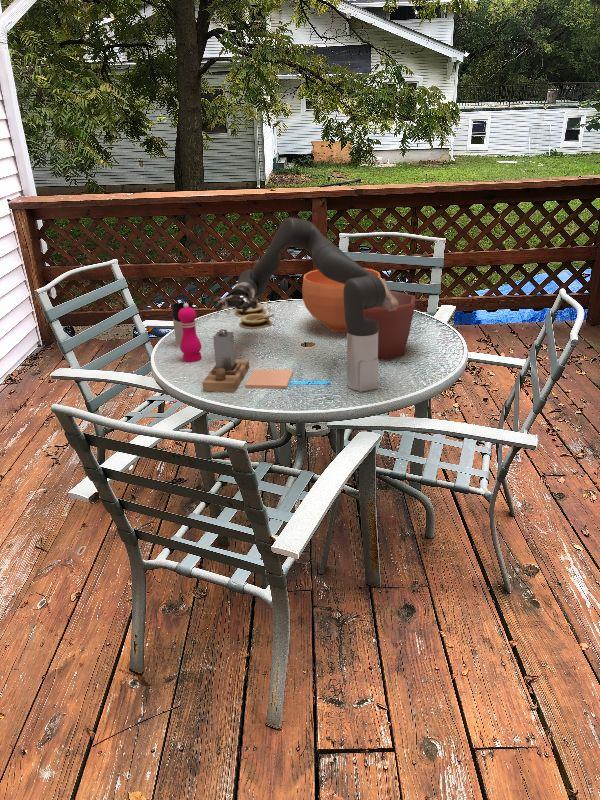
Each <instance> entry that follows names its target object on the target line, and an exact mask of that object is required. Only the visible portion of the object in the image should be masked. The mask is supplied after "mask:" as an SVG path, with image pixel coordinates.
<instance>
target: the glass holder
mask: <svg viewBox="0 0 600 800" xmlns="http://www.w3.org/2000/svg"><path fill="white" fill-rule="evenodd" d="M184 303H187V304H188V305H189V307H190V308H193V309H194V304H193V303H192V302H189V301H187V302H186V301H185V302H182V301H181V302H177V303H174V304H172V305H171V311H172V321H173V331H174V338H175V344H174V346H175V345H176V346H177V347H176V346H175V347H176V348H178V347H180V344H181V340H182V337H183V328H182V327H181V320H180V319H179V317H178V313H179V311H180V309H182V308H184V306H183V305H184ZM194 321H195V322H196V319H195V320H194ZM195 332H196V333H197V328H196V325H195Z"/></svg>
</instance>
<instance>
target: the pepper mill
mask: <svg viewBox="0 0 600 800" xmlns="http://www.w3.org/2000/svg"><path fill="white" fill-rule="evenodd" d="M183 306H184V308H182V309H180V311H179V313H178V317H179V319H180V320H181V327H182V328H183V337H182V340H181V344H180V348H179V349H180V351H181V353H183V354H182V359H183V361H184V362H187V363H195V362H197V361H200V360H201V359H202V353H201V352H200V351H201V350H202V342H201V341H200V339H199V337H198V335H197V331H196V332H195V326H196V324H197V323H196V318H197V313H196V310H195V309H194V307H193V308H190V307H189V305H188V304H187V303H184V305H183ZM194 320H195V321H194ZM194 361H195V362H194Z"/></svg>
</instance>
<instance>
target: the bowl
mask: <svg viewBox="0 0 600 800" xmlns="http://www.w3.org/2000/svg"><path fill="white" fill-rule="evenodd" d="M363 268H364V269H366V270H368V271H369V272H371V273H373V274H374V275H376V276H377V277H378V278H379V279H382V277H381V274H380V271H377V270H374V269H371V268H367V267H363ZM302 278H303V279H302V289H301V291H302V292H301V293H302V294H301V295H302V301H303V303H304V307H305V308H306V310H307V311H308V312H309V313H310V314H311V316H312V317H313V318H315V319H316V320H318V321H319V322H320V323H323V325H325V326H326V327H327V329H328V330H329V331H330V330H331V332H334V331H336V332H335V333H347V326H346V322H345V311H344V295H343V293H344V285H345V284H343V283H340V282H336V281H333V280H331V279H329V278H327V277H325V276H324V275H323V274H322V273H321V272H320V271H319V270H317V269H315V270H310V271H308V272H307V273H305V274H304V275H303V277H302Z"/></svg>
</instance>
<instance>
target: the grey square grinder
mask: <svg viewBox="0 0 600 800" xmlns="http://www.w3.org/2000/svg"><path fill="white" fill-rule="evenodd" d="M212 340H213V347H214V348H213V349H214V359H215V365H216V369H218V368H224V369H225V371H233V370H234V369H235V367H236V361H235V359H236V352H235V341H234V332H233V331H227V329H220V330H218V331H216V333H215V334H214V335H213V338H212Z"/></svg>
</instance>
